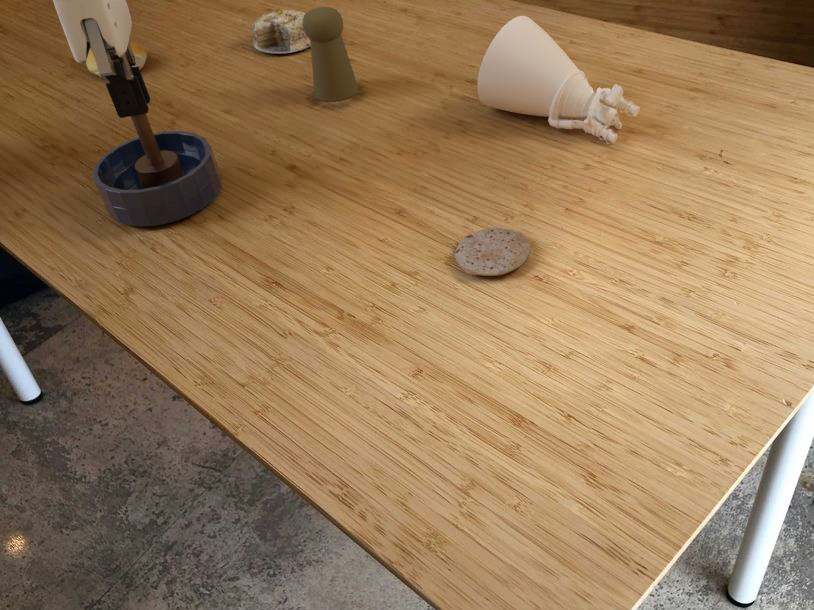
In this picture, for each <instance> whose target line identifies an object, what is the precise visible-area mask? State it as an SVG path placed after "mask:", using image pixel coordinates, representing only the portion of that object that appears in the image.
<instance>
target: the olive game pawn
mask: <svg viewBox="0 0 814 610" xmlns="http://www.w3.org/2000/svg"><path fill="white" fill-rule="evenodd" d="M303 29H304V32H305V34H306V35H307V37H308V38H309V39H310V44H311V47H310V55H311V67H312V78H313V79H312V80H313V89H314V90H313V92H314V97H315V98H316V99H318V100H319V101H323V102H340V101H344V100H347V99H349V98H351V97H353V96H354V95H355V94H357V92H358V91H359V85H358V82H357V79H356V76H355V73H354V70H353V67H352V63H351V61H350V57H349V54H348V51H347V48H346V45H345V43H344V39H343V36H342V33H343V30H344V19H343V17H342V14H341V13H340V12H339V10H338V9H337V8H334V7H331V6H320V7H314V8H312V9H309V10H308V11H307V12H305V15H304V18H303Z"/></svg>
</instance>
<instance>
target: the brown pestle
mask: <svg viewBox="0 0 814 610" xmlns="http://www.w3.org/2000/svg"><path fill="white" fill-rule="evenodd" d="M117 61H118V62H119V63H120V61H119V59H117V60H112V62H117ZM130 119H131V121H132V123H133V124H132V125H133V126H134V128H135V131H136V134H137V137H139V139H140V142H141V144H142V147H143V149H144V152H145V154H146V155H144V156H143V157H141V158H140V159H139V160H138V161H137V162H136V163H135V169H136V172H137V174H138V177H139V179H140V181H141V184H142V186H143V189H146V188H152V187H158V186H161V185H164V184H167V183H170V182H173V181H175V180H177V179H179V178H181V177H183V176H184V173H183V170H182V168H181V165H180V162H179V159H178V157H177V155H176V154H175V153H174V152H172V151H166V150H163V151H160V150H159V147H158V145H157V142H156V139H155V137H154V134H153V133H154V132H153V129H152V127H151V124H150V121H149V118H148V115H147V113H146V114H141V115H136V116H130Z"/></svg>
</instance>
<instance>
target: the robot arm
mask: <svg viewBox="0 0 814 610" xmlns="http://www.w3.org/2000/svg"><path fill="white" fill-rule="evenodd" d="M52 3H53V5H54V8H55V12H56V13H57V17H58V19H59V22H60V24H61V27H62V30H63V32H64V35H65V38H66V41H67V43H68V46H69V49H70V51H71V54H72V56H73V59H74V60H75V61H76V62H77V63H79V65H82V64H86V61H87V57H88V54H89V50H90V48H91V50H92V53H93V55H94V58H95V61H96V64H97V67H98V70H99V73H100V76H101V77H100V78H102V77H103V78H102V79H103V82H104V84H105V87H106V89H107V93H108V94H109V97H110V99H111V102H112V104H113V106H114V109H115V111H116V114H117V116H118V117H119V118H121V119H123V118H131V116H136V115H141V114H146V115H147V114H148V113H149V109H150V108H149V105H148V104H149V103H150V102H151V97H150V93H149V91H148V88H147V86H146V83H145V80H144V78H143V74H142V71H141V69H139V66H137V67H132V66H136V59H135V56H134V54H133V51H132V48H131V45H130V43H129V41H130V38H131V33H132V25H133V24H132V16H131V13H130V9H129V5H128V4H127V3H128V2H127V0H52ZM117 59H119V61H120V63H119V62H118V61H117V62H112V60H117Z"/></svg>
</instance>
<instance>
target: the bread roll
mask: <svg viewBox="0 0 814 610" xmlns="http://www.w3.org/2000/svg"><path fill="white" fill-rule="evenodd" d="M129 43H130V45H131V48H132V51H133V54H134V56H135V59H136V66H132V67H137V66H139V69H140V70H142V69H143V68H144V66H145V64H146V63H147V62H146V61H147V59H148V58H147V57H148V56H147V52H146V51H145V49H144V48H143V47H142V46H141V45H139V44H137V43H134V42H132V41H130V40H129ZM85 64H86V67H87V69H88V71H89V72H90V73H91V74H93V75H95V76H97V77H99V78H102V79H103V77H101V76H100V73H99V70H98V67H97V64H96V61H95V58H94V55H93V53H92V50H91V48H90V50H89V54H88V57H87V61H85Z"/></svg>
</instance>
